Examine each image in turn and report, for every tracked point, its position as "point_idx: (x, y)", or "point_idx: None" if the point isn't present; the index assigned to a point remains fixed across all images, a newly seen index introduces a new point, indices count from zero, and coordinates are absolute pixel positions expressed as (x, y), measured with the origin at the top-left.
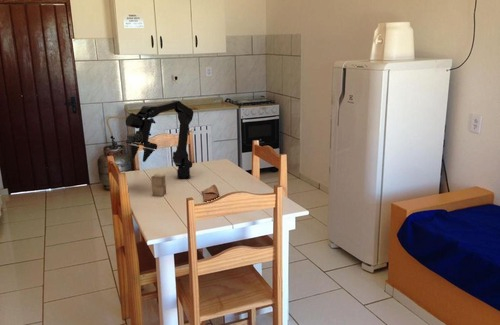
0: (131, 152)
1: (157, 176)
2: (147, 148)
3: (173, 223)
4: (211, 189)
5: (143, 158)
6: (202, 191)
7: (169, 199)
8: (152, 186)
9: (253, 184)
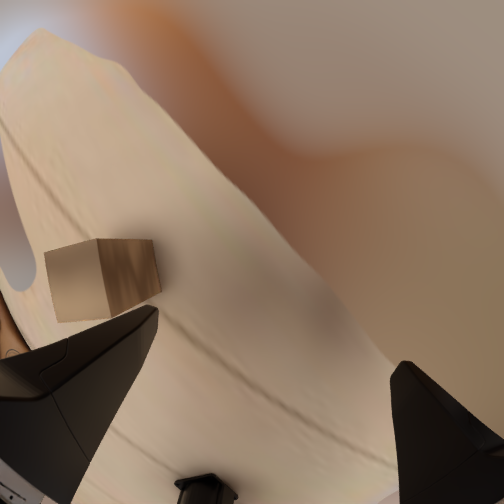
0: (458, 410)
1: (68, 266)
2: None
3: (9, 93)
4: None
5: (122, 322)
6: (21, 346)
7: (66, 234)
8: (126, 240)
9: None
